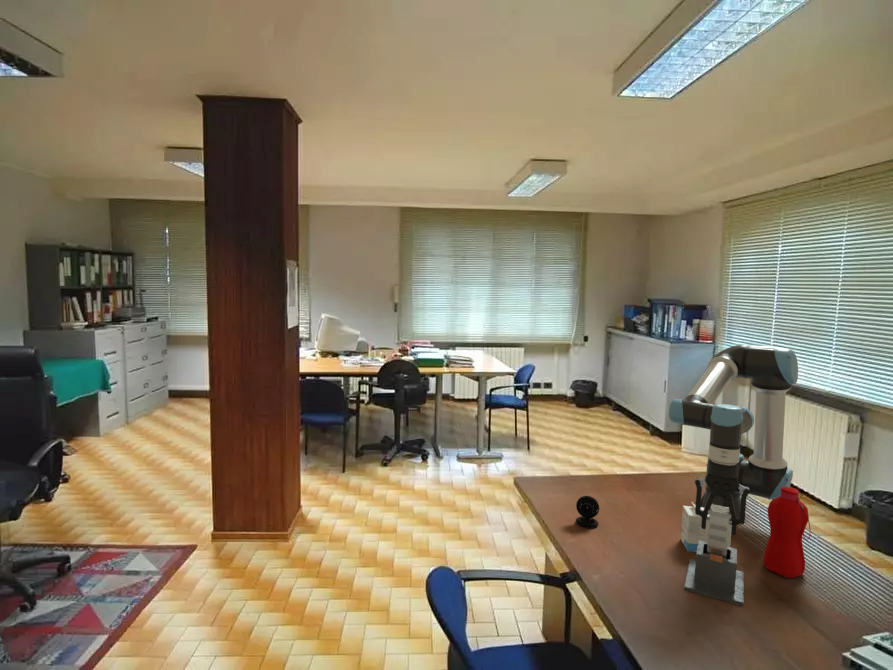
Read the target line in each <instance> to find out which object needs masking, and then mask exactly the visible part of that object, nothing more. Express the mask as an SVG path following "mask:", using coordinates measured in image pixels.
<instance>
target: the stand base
mask: <svg viewBox="0 0 893 670" xmlns="http://www.w3.org/2000/svg"><path fill="white" fill-rule="evenodd" d="M707 544H708V543H707V542H705V541H701V540H699V542H698V547H697V552H695V559H694V558H689V561H688V562H689V563H688V567H687V573H686V578H685V583H684V589H683V590H684V591H687V592H691V593H693V594H697V595H701V596H705V597H709V598H712V599H715V600H720V601H723V602H727V603H730V604H733V605H738V606H741V607H744V602H745V601H744V593H745V592H744V571H741V570H737V566H738V559H737V558H738V549H737V548H735V547H731V546H730V548H729V547H727V556H726V559H725V558H723V557H722V556H718V555H714V554H710V555H708V554H707Z"/></svg>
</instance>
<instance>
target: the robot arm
mask: <svg viewBox="0 0 893 670" xmlns="http://www.w3.org/2000/svg"><path fill="white" fill-rule="evenodd" d="M736 378H738V379H739V378H740V379H747V380H750V384H751V385H750V386H751V387H753V389H754V390H755V412H754V414H755V415H754V414H753V412H752V411H751V410H750V409H749V408H747V407H744V406H739V405H733V404H725V403H723V404H722V403H721V404H720V403H719V404H715V402H716V400H717V399H718V398H719V396H720V395H721V393H722V392H723V391H724V389H725V388H726V387H727V385H728V383H730V382H731V381H733V380H735V379H736ZM798 379H799V362H798V358H797V355H796V353H795V352H794V351H793V350H792V349H791V348H785V347H780V346H767V345H766V346H764V345H753V344H752V345H751V344H736V345H733V346H729V347H726V348H724V349H723V350H721V351H719V352H718V353H716V354H715V355H714V356H712V357H711V358H710V359H709V361H708V363H707V369H706V371H705V372H704V373H703V374H702V376H701V377H700V378H699V380H698V381H697V383H695V385H694V386H693V388H692V389H691V390H690V392H689V393H688V394H687V396H686V397H685V398H684V399H683V398H675V399H672V401H671V402H670V403H669V407H668V418H669V420H670V421H671V422H672V423H675V424H678V425H679V424H680V425H681V426H687V427H695V428H701V429H705V430H709V446H708V455H707V463H706V471H705V472H706V474H705V477H703V478H699V477H696V478H695V481H694V484H695V487H696V496H695V505H696V507H695V513H696V514H697V515H700V516H701V517H702V523H701V527H702V529H706V531H705V542H707V543H708V530H709V516H707V515H708V509H709V508H710V507H711V505H712V504H714V505H719V506H724V507H729V511H730V513H731V519H729V529H728V543H727V547H729V548H730V547H731V543H732V541H731V540H732V536H735V537H736V535H737V525H739V524H740V525H744V524H745V522H746V521H745V520H746V507H747V497H748V495H752V496H755V497H760V498H762V499H763V498H764V499H768V500H771V501H772V500H773V499H775V498H777V497H780V496H781V490H779V489H781V487H791V484H792V480H793V475H794V470H792V469H791V468H788V462H787V460H786V459H785V458H783V457H784V456H783V453H784V436H785V435H784V433H785V432H784V431H785V412H786V393H787V392H789V391H790V390H791V389H792V385H796V384H797V382H798ZM753 425H754V436H753V437H754V438H753V454H751V455H749V457H748V459H745V456H744V454H742V453H741V441H742V435H743V434H745V433H748V432H749V431H750V430H751V428H753ZM704 486H705V487H704ZM703 487H704V488H705V489H704V493H702V492H703ZM702 494H703V495H702ZM701 507H703V508H704V510H703V511H702V510H701Z"/></svg>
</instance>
